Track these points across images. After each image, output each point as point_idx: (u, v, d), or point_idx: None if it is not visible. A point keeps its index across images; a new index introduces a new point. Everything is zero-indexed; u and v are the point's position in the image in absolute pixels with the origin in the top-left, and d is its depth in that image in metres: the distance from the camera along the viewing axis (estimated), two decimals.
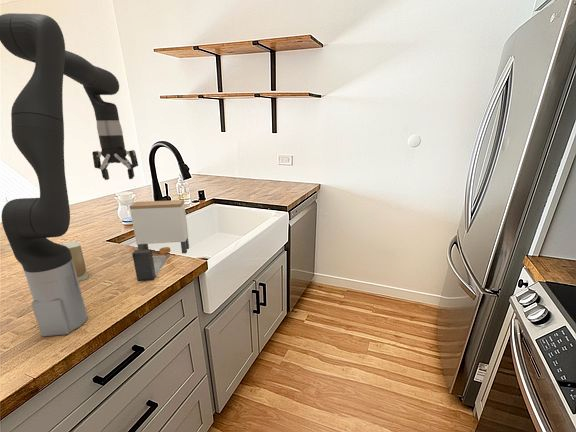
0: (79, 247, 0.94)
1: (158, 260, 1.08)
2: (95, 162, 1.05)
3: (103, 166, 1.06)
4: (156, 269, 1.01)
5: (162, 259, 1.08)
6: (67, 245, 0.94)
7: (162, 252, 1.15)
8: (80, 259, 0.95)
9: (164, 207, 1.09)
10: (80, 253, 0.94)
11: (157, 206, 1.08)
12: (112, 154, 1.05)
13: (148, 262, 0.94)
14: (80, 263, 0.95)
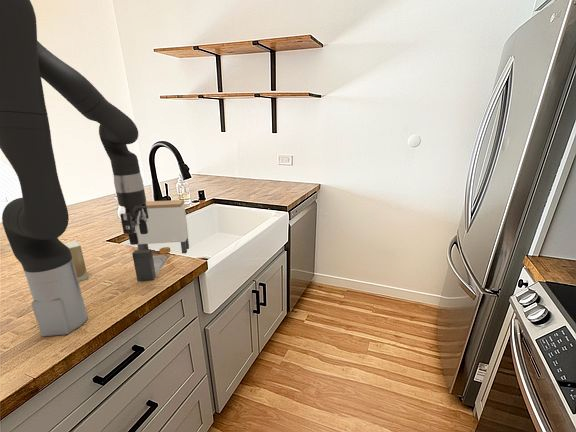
0: (79, 247, 0.94)
1: (158, 260, 1.08)
2: (132, 226, 0.85)
3: (136, 228, 0.87)
4: (156, 269, 1.01)
5: (162, 259, 1.08)
6: (67, 245, 0.94)
7: (162, 252, 1.15)
8: (79, 260, 0.95)
9: (164, 207, 1.09)
10: (80, 253, 0.94)
11: (157, 206, 1.08)
12: (137, 211, 0.90)
13: (148, 262, 0.94)
14: (80, 263, 0.95)
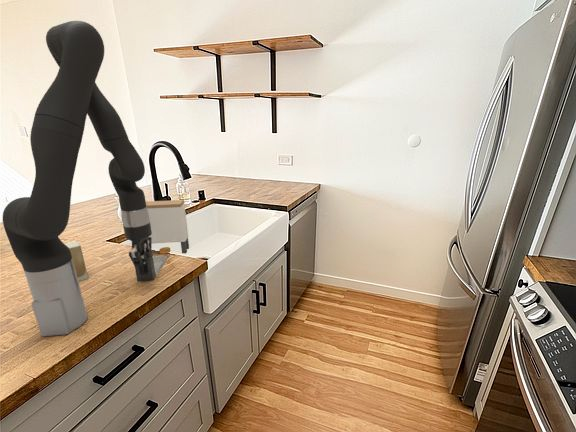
0: (79, 247, 0.94)
1: (158, 260, 1.07)
2: (141, 260, 0.90)
3: (145, 259, 0.93)
4: (156, 269, 1.01)
5: (162, 259, 1.08)
6: (67, 245, 0.94)
7: (162, 252, 1.15)
8: (80, 260, 0.95)
9: (164, 207, 1.09)
10: (80, 253, 0.94)
11: (157, 206, 1.08)
12: (143, 243, 0.93)
13: (148, 262, 0.94)
14: (80, 263, 0.95)
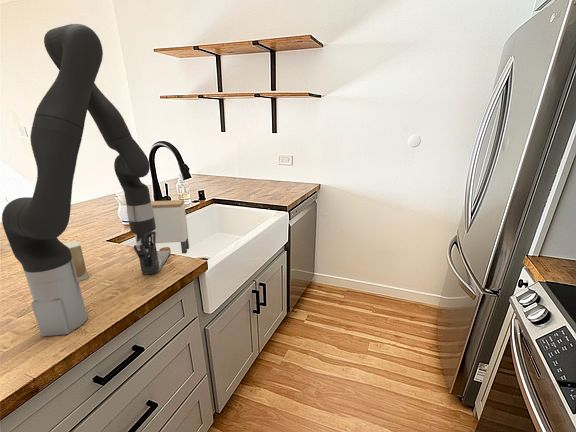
0: (79, 247, 0.94)
1: (162, 254, 1.11)
2: (145, 253, 0.94)
3: (149, 253, 0.97)
4: (160, 263, 1.04)
5: (166, 253, 1.12)
6: (67, 245, 0.94)
7: None
8: (79, 259, 0.95)
9: (164, 207, 1.09)
10: (80, 253, 0.94)
11: (157, 206, 1.08)
12: (148, 237, 0.96)
13: (153, 255, 0.97)
14: (80, 263, 0.95)
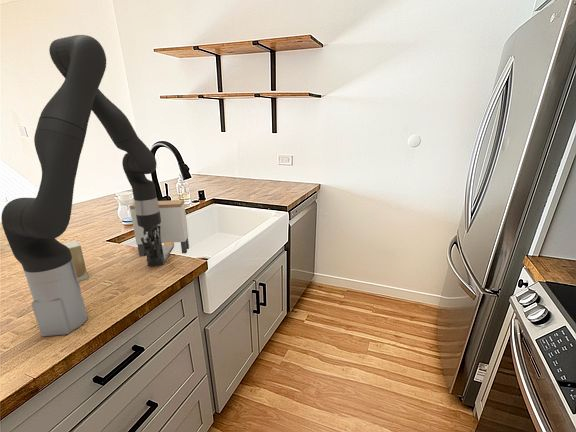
0: (79, 247, 0.94)
1: (166, 248, 1.17)
2: (152, 245, 1.00)
3: (155, 245, 1.03)
4: (164, 255, 1.11)
5: (169, 247, 1.18)
6: (67, 245, 0.94)
7: None
8: (79, 259, 0.95)
9: (164, 207, 1.09)
10: (80, 253, 0.94)
11: None
12: None
13: (158, 248, 1.04)
14: (80, 263, 0.95)
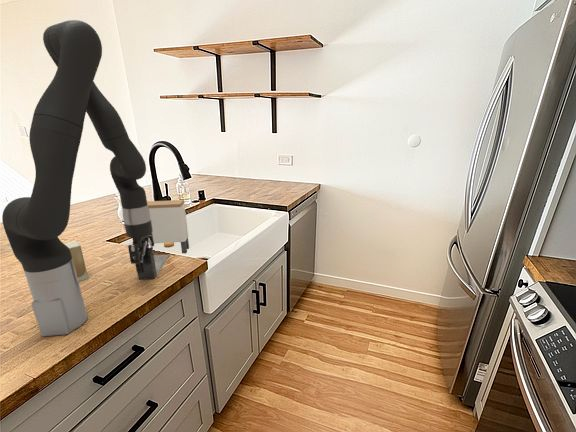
0: (79, 247, 0.94)
1: (159, 259, 1.08)
2: (139, 256, 0.88)
3: (142, 257, 0.91)
4: (157, 268, 1.02)
5: (163, 258, 1.09)
6: (67, 245, 0.94)
7: (166, 246, 1.21)
8: (79, 260, 0.95)
9: (164, 207, 1.09)
10: (80, 253, 0.94)
11: (157, 206, 1.08)
12: (144, 240, 0.94)
13: (150, 261, 0.95)
14: (80, 263, 0.95)
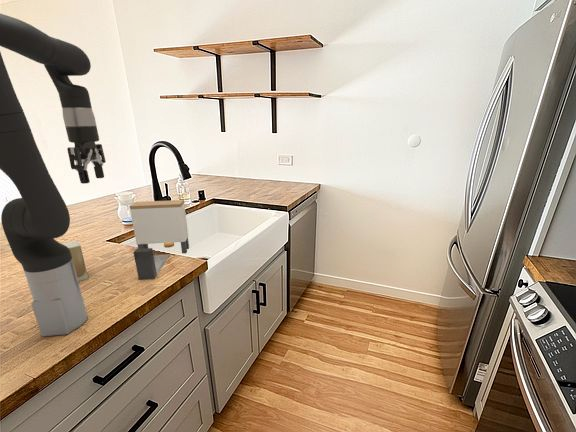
0: (79, 247, 0.94)
1: (159, 259, 1.08)
2: (80, 161, 0.81)
3: (86, 165, 0.84)
4: (157, 268, 1.02)
5: (163, 258, 1.09)
6: (67, 245, 0.94)
7: (166, 246, 1.21)
8: (79, 260, 0.95)
9: (164, 207, 1.09)
10: (80, 253, 0.94)
11: (157, 206, 1.08)
12: None
13: (150, 261, 0.95)
14: (80, 263, 0.95)
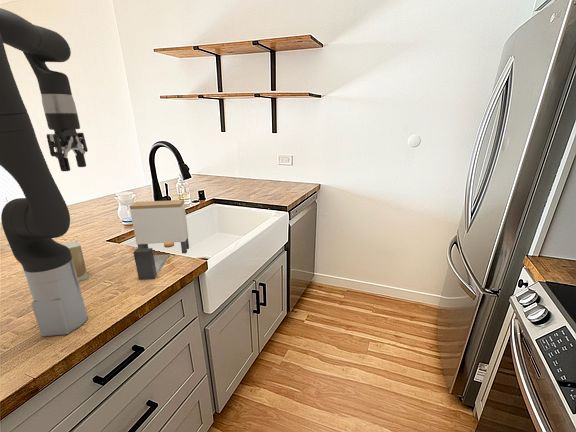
0: (79, 247, 0.94)
1: (159, 259, 1.08)
2: (60, 148, 0.81)
3: (66, 153, 0.83)
4: (157, 268, 1.02)
5: (163, 258, 1.09)
6: (67, 245, 0.94)
7: (166, 246, 1.21)
8: (79, 260, 0.95)
9: (164, 207, 1.09)
10: (80, 253, 0.94)
11: (157, 206, 1.08)
12: None
13: (150, 261, 0.95)
14: (80, 263, 0.95)
